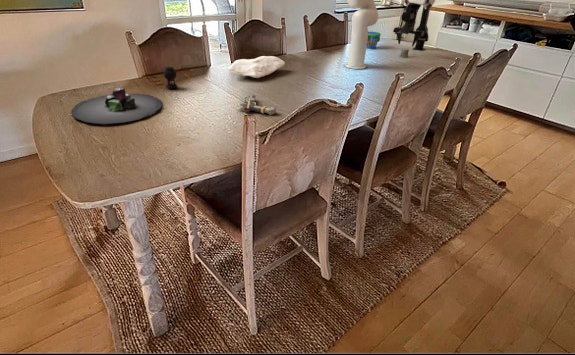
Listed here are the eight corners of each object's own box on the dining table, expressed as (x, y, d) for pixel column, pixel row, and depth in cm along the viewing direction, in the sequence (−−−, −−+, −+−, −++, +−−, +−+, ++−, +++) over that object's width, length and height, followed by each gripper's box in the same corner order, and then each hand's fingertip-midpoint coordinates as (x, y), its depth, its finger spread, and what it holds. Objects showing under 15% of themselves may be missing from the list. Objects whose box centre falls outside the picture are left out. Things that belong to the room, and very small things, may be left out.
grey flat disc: (174, 113, 149) (170, 91, 144) (79, 131, 131) (72, 107, 127) (148, 93, 173) (144, 73, 169) (65, 106, 156) (59, 85, 151)
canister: (401, 55, 246) (402, 48, 244) (407, 56, 245) (409, 49, 242) (399, 56, 243) (401, 49, 240) (406, 57, 241) (408, 50, 239)
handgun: (275, 94, 165) (242, 93, 164) (275, 109, 150) (239, 108, 149) (275, 100, 167) (242, 99, 166) (275, 115, 152) (239, 114, 151)
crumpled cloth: (215, 70, 197) (215, 54, 191) (268, 61, 215) (270, 45, 209) (238, 89, 184) (239, 72, 178) (292, 77, 202) (294, 61, 196)
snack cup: (373, 45, 269) (375, 30, 263) (383, 48, 262) (386, 33, 256) (357, 47, 261) (359, 32, 256) (367, 50, 254) (370, 35, 249)
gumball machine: (165, 90, 172) (162, 69, 166) (163, 86, 176) (159, 65, 171) (180, 88, 175) (177, 67, 169) (177, 85, 179) (174, 64, 174)
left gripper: (443, -21, 172) (434, 18, 181) (413, -24, 183) (406, 13, 192) (434, -21, 168) (425, 19, 177) (404, -24, 179) (397, 14, 188)
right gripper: (392, 19, 231) (387, 44, 240) (420, 23, 222) (415, 49, 230) (398, 17, 239) (394, 42, 247) (426, 21, 230) (421, 47, 238)
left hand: (415, 16), depth 184 cm, fingers open, 9 cm apart
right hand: (405, 45), depth 240 cm, fingers open, 9 cm apart
